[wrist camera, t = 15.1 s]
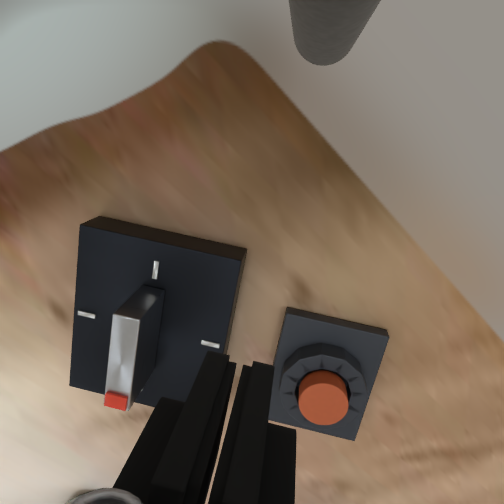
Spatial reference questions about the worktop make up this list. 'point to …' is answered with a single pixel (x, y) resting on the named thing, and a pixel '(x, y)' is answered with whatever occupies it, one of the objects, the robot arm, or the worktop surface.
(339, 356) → the button block
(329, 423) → the button
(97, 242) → the tap deck
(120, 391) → the lever
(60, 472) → the worktop surface
